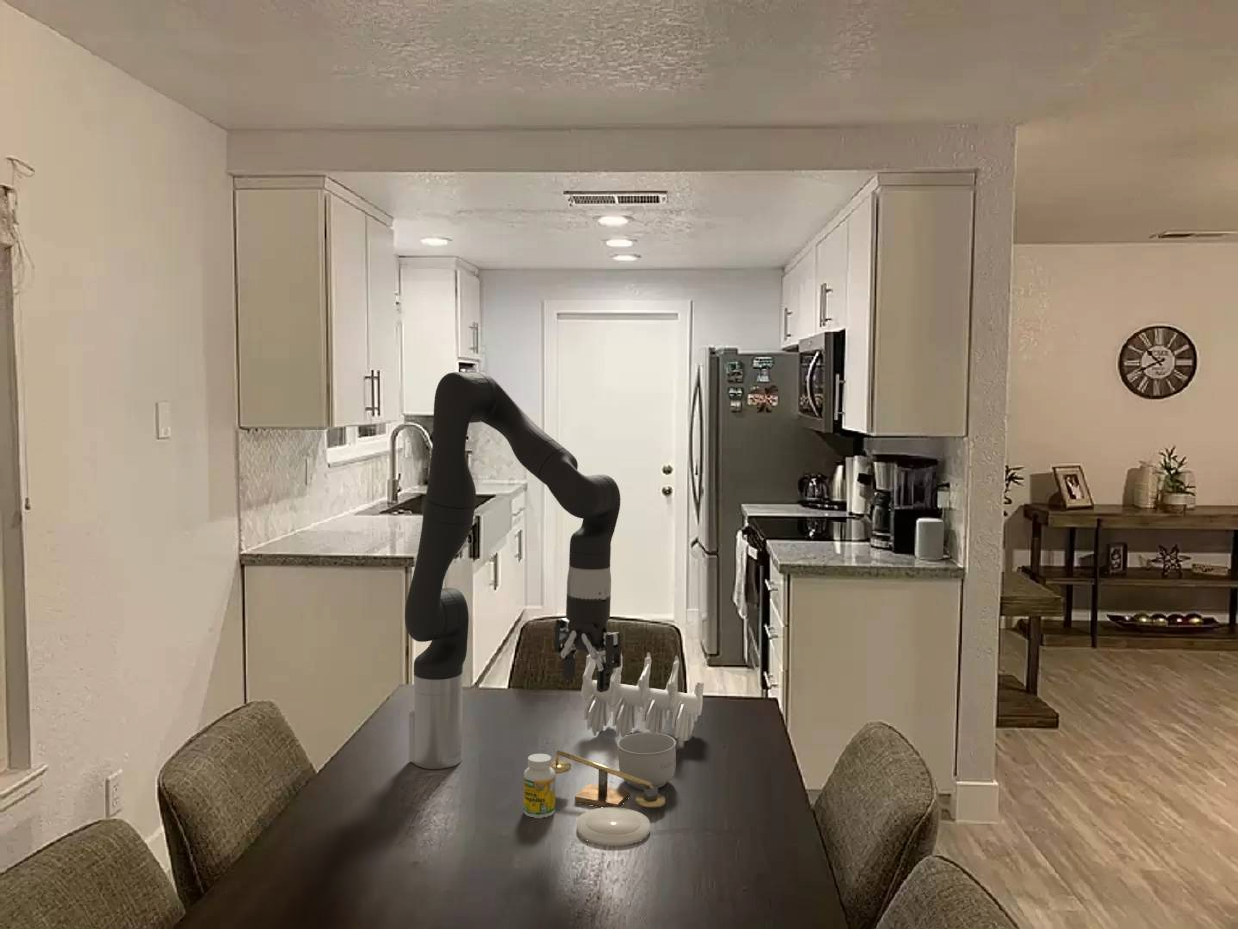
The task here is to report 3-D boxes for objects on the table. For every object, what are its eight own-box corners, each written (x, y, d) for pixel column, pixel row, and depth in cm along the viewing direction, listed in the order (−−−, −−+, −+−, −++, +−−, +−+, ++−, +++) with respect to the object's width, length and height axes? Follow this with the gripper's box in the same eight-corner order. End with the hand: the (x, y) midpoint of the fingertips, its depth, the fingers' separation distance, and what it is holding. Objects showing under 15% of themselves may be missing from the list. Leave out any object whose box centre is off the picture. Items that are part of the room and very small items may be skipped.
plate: (564, 838, 161) (564, 829, 161) (593, 809, 172) (593, 801, 172) (634, 852, 156) (634, 843, 156) (659, 821, 168) (659, 814, 168)
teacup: (670, 798, 177) (671, 754, 177) (610, 792, 180) (611, 748, 179) (681, 769, 191) (682, 728, 190) (625, 763, 193) (626, 723, 193)
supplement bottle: (559, 808, 172) (560, 754, 171) (547, 821, 167) (548, 765, 166) (530, 804, 174) (531, 750, 173) (518, 816, 168) (518, 761, 168)
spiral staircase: (693, 769, 202) (574, 750, 207) (707, 708, 216) (595, 692, 222) (693, 701, 193) (568, 683, 198) (708, 643, 207) (592, 627, 213)
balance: (536, 796, 177) (537, 753, 176) (551, 783, 183) (551, 742, 182) (658, 818, 169) (659, 773, 168) (669, 805, 174) (670, 761, 174)
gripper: (544, 587, 173) (542, 679, 174) (601, 602, 163) (598, 700, 164) (576, 582, 178) (573, 671, 179) (634, 596, 168) (630, 691, 169)
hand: (585, 685), depth 172 cm, fingers open, 8 cm apart
